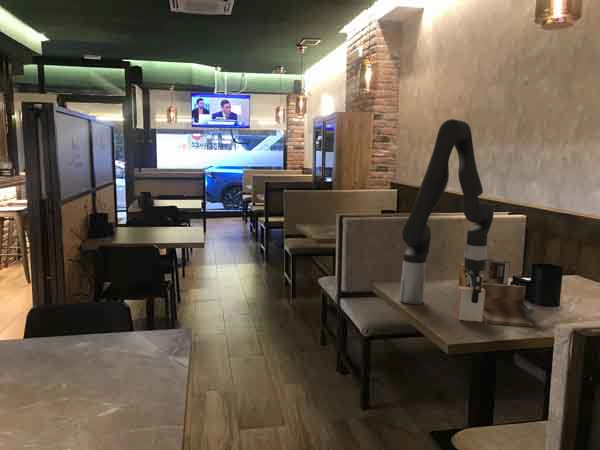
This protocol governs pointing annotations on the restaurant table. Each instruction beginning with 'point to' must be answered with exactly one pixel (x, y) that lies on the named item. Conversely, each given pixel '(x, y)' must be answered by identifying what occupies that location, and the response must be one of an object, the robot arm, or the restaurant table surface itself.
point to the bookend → (506, 305)
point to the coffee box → (496, 272)
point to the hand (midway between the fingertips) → (472, 299)
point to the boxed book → (469, 305)
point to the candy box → (464, 275)
